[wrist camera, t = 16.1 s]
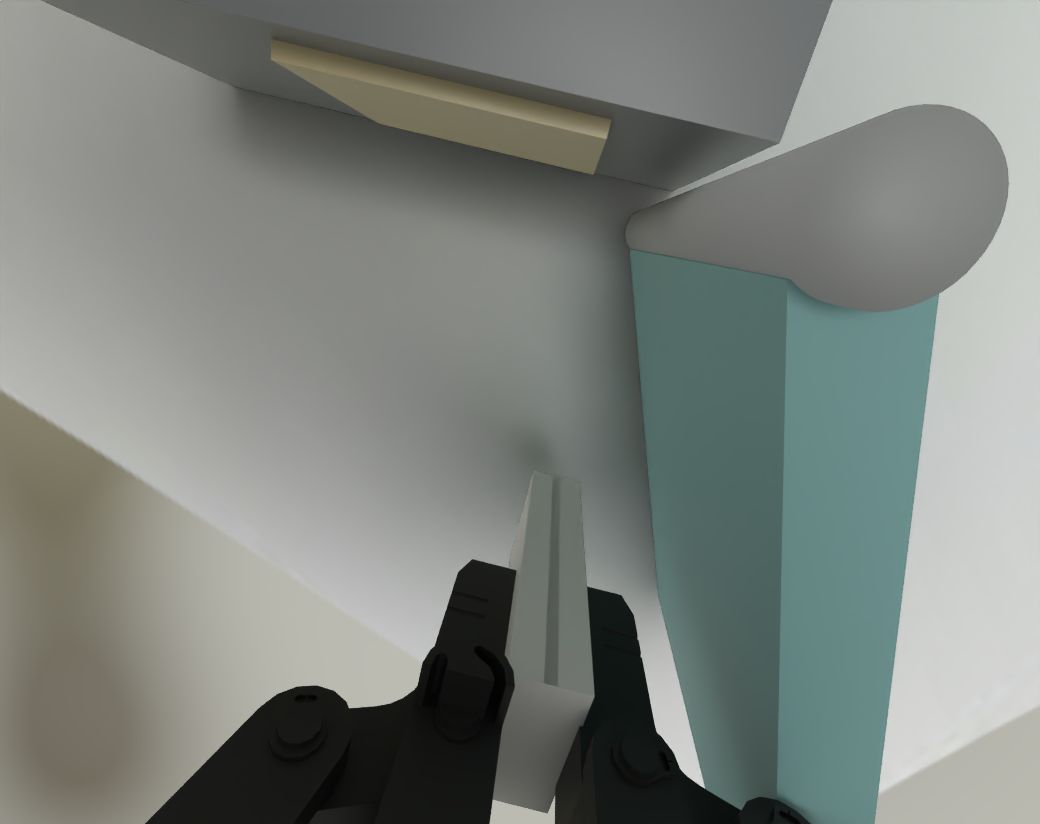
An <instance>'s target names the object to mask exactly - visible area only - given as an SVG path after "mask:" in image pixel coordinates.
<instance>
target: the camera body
mask: <svg viewBox="0 0 1040 824" xmlns="http://www.w3.org/2000/svg"><path fill="white" fill-rule="evenodd" d="M42 1H44V2H46V3H48V4H51V5H53V6H55V7H57V8H60V9H62V10H64V11H66V12H68V13H71V14H73V15H75V16H77V17H80V18H82V19H84V20H86V21H89V22H91V23H93V24H95V25H97V26H100V27H102V28H104V29H106V30H109V31H111V32H113V33H115V34H118V35H120V36H122V37H124V38H126V39H129V40H131V41H133V42H135V43H138V44H140V45H142V46H144V47H147V48H149V49H151V50H153V51H155V52H158V53H160V54H162V55H164V56H167V57H169V58H171V59H173V60H176V61H178V62H180V63H182V64H184V65H187V66H189V67H191V68H193V69H196V70H198V71H200V72H202V73H205V74H207V75H209V76H211V77H213V78H216V79H218V80H220V81H222V82H225V83H227V84H229V85H231V86H234V87H238V88H242V89H247V90H251V91H255V92H259V93H263V94H267V95H272V96H276V97H280V98H284V99H288V100H293V101H297V102H301V103H305V104H309V105H314V106H318V107H322V108H326V109H330V110H334V111H339V112H343V113H347V114H351V115H355V116H360V117H364V118H368V119H372V120H374V121H375V122H377V123H379V124H383V125H387V126H391V127H395V128H399V129H403V130H408V131H412V132H416V133H420V134H424V135H429V136H433V137H437V138H441V139H445V140H449V141H454V142H458V143H462V144H466V145H470V146H475V147H479V148H483V149H487V150H491V151H496V152H500V153H504V154H508V155H512V156H516V157H521V158H525V159H529V160H533V161H537V162H542V163H546V164H550V165H554V166H558V167H563V168H567V169H571V170H575V171H579V172H583V173H588V174H592V175H594V173H598V174H602V175H607V176H611V177H615V178H619V179H623V180H628V181H632V182H636V183H640V184H644V185H649V186H653V187H657V188H661V189H665V190H670V191H674V190H677V189H679V188H681V187H683V186H685V185H688V184H690V183H692V182H694V181H696V180H699V179H701V178H703V177H705V176H707V175H710V174H712V173H714V172H716V171H718V170H721V169H723V168H725V167H727V166H729V165H732V164H734V163H736V162H738V161H740V160H743V159H745V158H747V157H749V156H752V155H754V154H756V153H758V152H760V151H763V150H765V149H767V148H769V147H771V146H774V145H776V144H778V143H780V141H781V138H782V135H783V132H784V130H785V127H786V124H787V122H788V119H789V116H790V114H791V111H792V108H793V106H794V103H795V100H796V97H797V95H798V92H799V89H800V87H801V84H802V81H803V79H804V76H805V73H806V71H807V68H808V65H809V63H810V60H811V57H812V54H813V52H814V49H815V46H816V44H817V41H818V38H819V36H820V33H821V30H822V28H823V25H824V22H825V19H826V17H827V14H828V11H829V9H830V6H831V3H832V1H833V0H42Z"/></svg>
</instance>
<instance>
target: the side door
mask: <svg viewBox="0 0 1040 824" xmlns="http://www.w3.org/2000/svg"><path fill="white" fill-rule="evenodd" d="M1008 186H1009V181H1008V168H1007V163H1006V159H1005V155H1004V153H1003V150H1002V148H1001V145H1000V144H999V142H998V140H997V139H996V137H995V135H994V134H993V133H992V132H991V131H990V129H989V128H988V127H987V126H986V125H985V124H984V123H982V122H981V121H980V120H979V119H977V118H976V117H974V116H973V115H971V114H969V113H967V112H965V111H962V110H959V109H956V108H953V107H949V106H943V105H928V104H923V105H915V106H908V107H904V108H900V109H897V110H893V111H891V112H888V113H886V114H883V115H880V116H878V117H875V118H873V119H870V120H868V121H865V122H863V123H860V124H858V125H855V126H852V127H850V128H847V129H845V130H842V131H840V132H837V133H835V134H832V135H830V136H827V137H825V138H822V139H820V140H817V141H814V142H812V143H809V144H807V145H804V146H802V147H799V148H797V149H794V150H792V151H789V152H787V153H784V154H781V155H779V156H776V157H774V158H771V159H769V160H766V161H764V162H761V163H759V164H756V165H754V166H751V167H749V168H746V169H743V170H741V171H738V172H736V173H733V174H731V175H728V176H726V177H723V178H721V179H718V180H716V181H713V182H710V183H708V184H705V185H703V186H700V187H698V188H695V189H693V190H690V191H688V192H685V193H683V194H680V195H678V196H675V197H672V198H670V199H667V200H665V201H662V202H660V203H657V204H655V205H652V206H650V207H647V208H645V209H642V210H640V211H638V212H636V213H635V214H634V215H633V216H632V217H631V218H630V220H629V221H628V223H627V226H626V230H625V238H626V242H627V244H628V246H629V248H630V260H631V272H632V284H633V296H634V309H635V321H636V333H637V345H638V357H639V369H640V381H641V393H642V405H643V418H644V430H645V442H646V454H647V466H648V478H649V490H650V502H651V514H652V527H653V539H654V551H655V563H656V575H657V587H658V597H659V601H660V605H661V609H662V613H663V617H664V622H665V626H666V630H667V634H668V638H669V642H670V646H671V650H672V654H673V658H674V662H675V667H676V671H677V675H678V679H679V683H680V687H681V691H682V695H683V699H684V703H685V707H686V712H687V716H688V720H689V724H690V728H691V732H692V736H693V740H694V744H695V748H696V752H697V756H698V761H699V765H700V769H701V773H702V777H703V781H704V785H705V789H706V790H708V791H709V792H711V793H713V794H714V795H716V796H718V797H720V798H721V799H723V800H725V801H726V802H728V803H730V804H731V805H733V806H735V807H736V808H738V809H740V810H742V808H743V807H744V805H745V803H746V802H747V801H748V800H751V799H754V798H757V797H760V796H761V797H766V798H771V799H776V800H778V801H780V802H782V803H784V804H786V805H787V806H789V807H791V808H793V809H794V810H796V811H797V812H798V813H800V814H801V815H802V816H803V817H804V818H805V819H806V820H807V821H808V822H809V823H811V824H874V822H875V814H876V806H877V798H878V790H879V781H880V773H881V765H882V757H883V749H884V740H885V732H886V724H887V716H888V708H889V699H890V691H891V683H892V675H893V667H894V658H895V650H896V642H897V634H898V626H899V617H900V609H901V601H902V593H903V585H904V576H905V568H906V560H907V552H908V544H909V535H910V527H911V519H912V511H913V503H914V494H915V486H916V478H917V470H918V462H919V453H920V445H921V437H922V429H923V421H924V412H925V404H926V396H927V388H928V380H929V371H930V363H931V355H932V347H933V338H934V330H935V322H936V314H937V306H938V297H939V293H941V292H943V291H944V290H945V289H947V288H948V287H950V286H951V285H953V284H954V283H955V282H956V281H958V280H959V279H960V278H961V277H962V276H963V275H965V274H966V273H967V272H968V271H969V270H970V268H971V267H972V266H973V265H974V264H975V263H976V262H977V261H978V260H979V258H980V257H981V256H982V254H983V253H984V252H985V250H986V249H987V247H988V246H989V244H990V243H991V241H992V239H993V237H994V235H995V233H996V231H997V229H998V227H999V225H1000V222H1001V220H1002V217H1003V214H1004V211H1005V206H1006V202H1007V197H1008Z"/></svg>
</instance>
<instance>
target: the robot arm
mask: <svg viewBox="0 0 1040 824" xmlns="http://www.w3.org/2000/svg"><path fill="white" fill-rule="evenodd" d="M637 636H638V635H637V630H636V625H635V619H634V615H633V613H632V612H631V610H630V608H629V607H628V605H627V604H626V602H625V601H624V599H623V597H622V596H621V595H618V594H614V593H610V592H606V591H602V590H598V589H594V588H590V587H587V580H586V566H585V551H584V537H583V523H582V509H581V494H580V482H578V481H574V480H570V479H566V478H562V477H558V476H554V475H550V474H546V473H542V472H538V471H533V475H532V478H531V482H530V485H529V489H528V493H527V496H526V500H525V504H524V507H523V511H522V514H521V518H520V522H519V525H518V529H517V532H516V536H515V540H514V543H513V547H512V551H511V556H510V562H509V568H505V567H501V566H497V565H493V564H489V563H485V562H481V561H477V560H473V559H472V560H471V561H470V562H469V563H468V564H467V565H466V566H465V567H463V568H462V569H461V570H460V571H459V572H458V574H457V578H456V581H455V584H454V587H453V590H452V594H451V597H450V600H449V603H448V606H447V610H446V612H445V615H444V619H443V622H442V625H441V628H440V631H439V634H438V637H437V641H436V644H435V647H433V648H432V649H431V650H430V652H429V653H428V655H427V657H426V658H425V660H424V661H423V663H422V668H421V673H420V677H419V682H418V686H417V687H416V688H415V690H414V691H412V692H411V693H410V694H408V695H407V696H405V697H404V698H402V699H400V700H398V701H395V702H393V703H391V704H386V705H381V706H375V707H362V708H348V705H347V702H346V701H345V700H344V699H343V698H341V697H340V696H339V695H338V694H337V693H336V692H335V691H333V690H329V689H326V688H323V687H320V686H301V687H295V688H292V689H290V690H287V691H284V692H282V693H279V694H277V695H276V696H274V697H273V698H272V699H270V700H269V701H268V702H266V703H265V704H264V705H262V706H261V707H260V708H259V709H258V710H257V711H256V712H255V713H254V714H253V715H252V716H251V717H250V718H249V719H248V720H247V721H246V722H245V723H244V724H243V725H242V726H241V727H240V728H239V729H238V730H237V731H236V732H235V733H234V734H233V735H232V736H231V737H230V738H229V739H228V740H227V741H226V742H225V743H224V744H223V745H222V746H221V747H220V748H219V749H218V750H217V752H215V753H214V755H212V756H211V757H210V758H209V760H207V761H206V763H205V764H204V765H203V766H202V767H201V768H200V769H199V770H198V771H197V772H196V773H195V774H194V775H193V776H192V777H191V778H190V779H189V780H188V781H187V782H186V783H185V784H184V785H183V786H182V787H181V788H180V789H179V790H178V791H177V792H176V793H175V794H174V795H173V796H172V797H171V798H170V799H169V800H168V801H167V802H166V803H165V804H164V805H163V806H162V807H161V808H160V809H159V810H158V811H157V812H156V813H155V814H154V815H153V816H152V817H151V818H150V819H149V820H148V822H146V823H145V824H489V823H490V815H491V808H492V800H497V801H501V802H505V803H509V804H513V805H517V806H521V807H524V808H529V809H532V810H536V811H540V812H545V813H548V811H549V808H550V806H551V803H552V801H553V799H554V796H555V824H811V823H809V822H808V821H807V820H806V819H805V818H804V817H803V816H802V815H801V814H800V813H798V812H797V811H796V810H794V809H793V808H791V807H789V806H787V805H786V804H784V803H782V802H780V801H778V800H776V799H771V798H766V797H761V796H760V797H757V798H754V799H751V800H748V801H747V802H746V803H745V805H744V807H743V808H742V810H740V809H738V808H736V807H735V806H733V805H731V804H730V803H728V802H726V801H725V800H723V799H721V798H720V797H718V796H716V795H714V794H713V793H711V792H709V791H708V790H706V789H704V788H703V787H701V786H700V785H698V784H697V783H695V782H694V781H693V780H691V779H690V778H688V777H687V776H686V775H685V774H684V773H683V772H682V771H681V770H680V768H679V765H678V763H677V760H676V758H675V755H674V753H673V752H672V750H671V749H670V748H669V746H668V745H667V744H666V742H665V741H664V740H663V738H662V737H661V736H660V735H659V734H657V732H656V728H655V725H654V719H653V714H652V709H651V704H650V698H649V693H648V688H647V683H646V677H645V672H644V667H643V661H642V658H641V657H640V655H641V651H640V646H639V640H637Z"/></svg>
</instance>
